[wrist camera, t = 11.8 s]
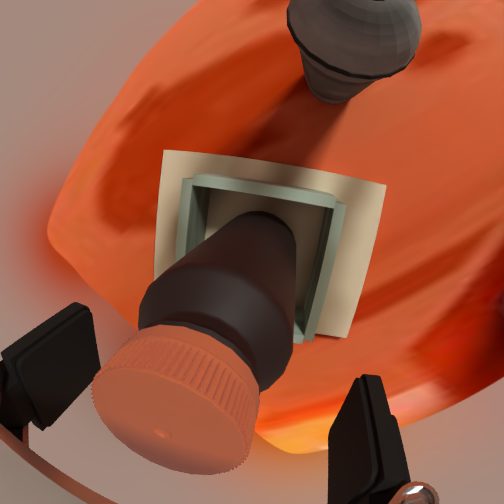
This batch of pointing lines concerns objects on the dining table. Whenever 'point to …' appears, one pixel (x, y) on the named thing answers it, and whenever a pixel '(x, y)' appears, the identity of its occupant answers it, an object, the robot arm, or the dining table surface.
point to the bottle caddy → (287, 209)
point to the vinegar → (205, 349)
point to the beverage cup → (352, 42)
